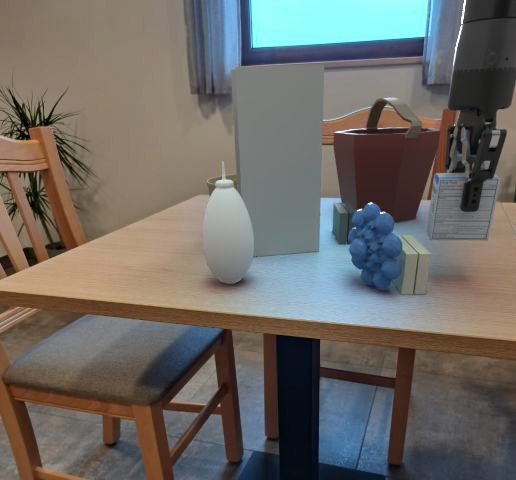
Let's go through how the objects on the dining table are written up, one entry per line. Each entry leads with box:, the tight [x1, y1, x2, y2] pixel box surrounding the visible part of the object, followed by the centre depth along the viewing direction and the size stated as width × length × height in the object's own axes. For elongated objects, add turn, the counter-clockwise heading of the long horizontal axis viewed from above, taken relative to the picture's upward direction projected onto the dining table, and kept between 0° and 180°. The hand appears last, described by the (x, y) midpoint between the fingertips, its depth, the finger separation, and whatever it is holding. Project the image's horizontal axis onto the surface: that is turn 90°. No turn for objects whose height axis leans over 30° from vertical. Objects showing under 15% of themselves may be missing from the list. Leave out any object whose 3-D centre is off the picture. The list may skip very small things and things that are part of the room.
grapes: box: [348, 203, 403, 291], centre depth 67 cm, size 12×7×12 cm, turn 23°
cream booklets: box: [392, 234, 432, 296], centre depth 69 cm, size 3×10×6 cm, turn 179°
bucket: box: [332, 97, 441, 224], centre depth 105 cm, size 24×22×25 cm
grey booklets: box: [332, 202, 356, 245], centre depth 93 cm, size 3×10×6 cm, turn 179°
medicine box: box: [426, 172, 502, 241], centre depth 65 cm, size 8×4×9 cm, turn 80°
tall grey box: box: [230, 64, 325, 258], centre depth 81 cm, size 14×6×30 cm, turn 100°
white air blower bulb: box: [201, 160, 254, 285], centre depth 69 cm, size 8×8×18 cm
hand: (461, 206), depth 65 cm, fingers closed on medicine box, 5 cm apart
